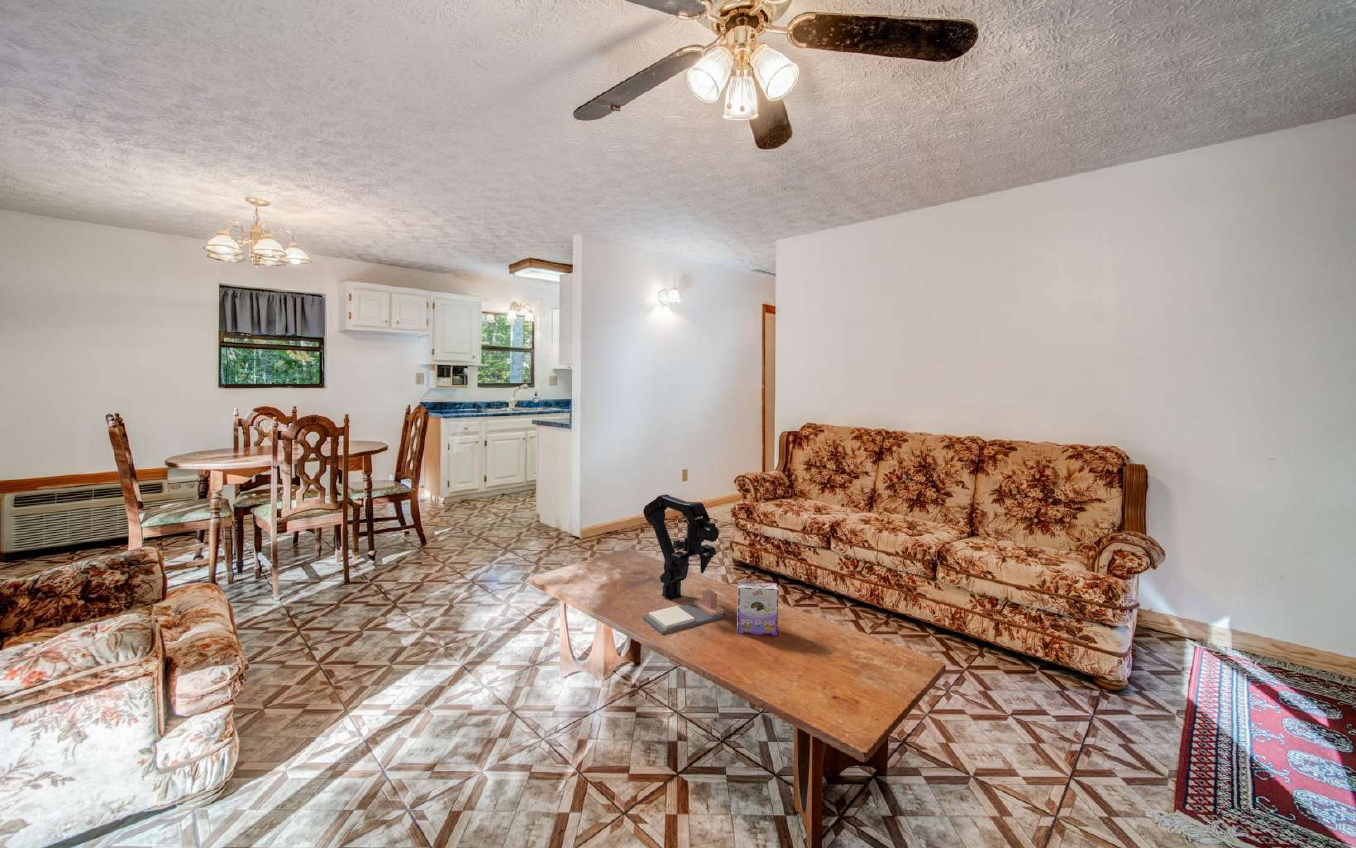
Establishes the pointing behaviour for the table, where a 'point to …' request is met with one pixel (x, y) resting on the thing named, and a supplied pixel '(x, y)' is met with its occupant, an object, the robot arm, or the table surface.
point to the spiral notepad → (671, 617)
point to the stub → (709, 603)
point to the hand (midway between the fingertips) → (693, 575)
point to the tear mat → (699, 619)
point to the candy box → (757, 608)
